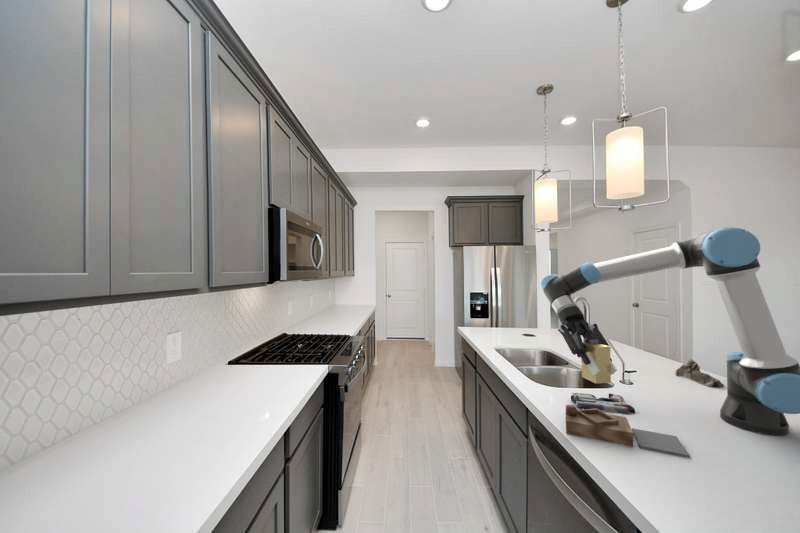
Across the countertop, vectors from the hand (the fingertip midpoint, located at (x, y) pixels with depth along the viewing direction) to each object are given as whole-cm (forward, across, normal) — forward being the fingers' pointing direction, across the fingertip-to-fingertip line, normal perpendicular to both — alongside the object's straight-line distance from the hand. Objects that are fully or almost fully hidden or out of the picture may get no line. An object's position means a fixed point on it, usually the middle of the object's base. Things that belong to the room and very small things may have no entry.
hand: (605, 372), depth 97 cm
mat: (+18, -13, -10) cm, 24 cm away
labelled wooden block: (0, 0, -5) cm, 5 cm away
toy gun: (-1, -17, -30) cm, 34 cm away
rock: (-12, -80, -41) cm, 91 cm away
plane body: (+11, 0, -16) cm, 20 cm away
